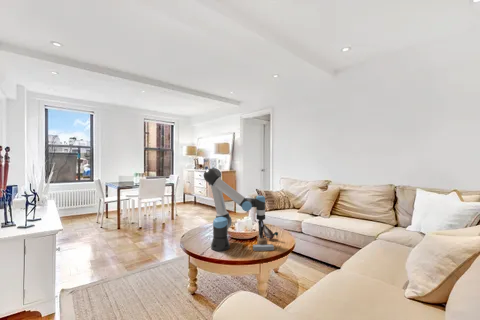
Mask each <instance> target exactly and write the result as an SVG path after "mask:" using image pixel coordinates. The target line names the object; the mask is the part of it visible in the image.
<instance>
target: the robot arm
mask: <svg viewBox="0 0 480 320" xmlns="http://www.w3.org/2000/svg"><path fill="white" fill-rule="evenodd" d="M203 179H204V181H205V182H206V183H208V186H210V189H211V193H212V197H213V202H214V207H215V210H216V214H215V218H214V219H213V222H212V228H213V229H212V233H213V234H212V236H213V237H212V242H211V243H210V249H211V250H213V251H216V252H222V251H227V250H230V248H231V245H230V241H229V238H228V234H229V232H228V229H229V228H231V226H232V223H233V220H232V216H230V213H229V211H227V208H226V202H225V198H224V195H226V196H227V197H228V198H230V199H231V201H233V202H234V203H236V204H237V205H238V206H240V207H241V209H242V210H243V211H244V212H249V211H250V210H251V209H252V208H256V210H255V211H256V212H255V213H256V215H255V217H256V220H258V221H257V223H258V238H263V235H264V232H263V226H264V225H263V224H264V220H266V212H267V211H266V196H264V195H257V196H256V197H255V198H252V197H251V198H249V197H245V196H243V195H242V193H239V191H238V190H236V189H234V188H233V187H232V186H230V185H229V184H228V183H227V182H225V181H224V180H223V179H222V173H221V171H220V170H219V169H218V168H215V167H212V168H208V169H206V170H205V171H204V172H203Z"/></svg>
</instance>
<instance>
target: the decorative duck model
mask: <svg viewBox="0 0 480 320" xmlns="http://www.w3.org/2000/svg"><path fill="white" fill-rule="evenodd" d="M263 225H264V226H263V238H266V239H270V240H272V239H273V238H275V236H276V237H278V235H279V232H278V231H275V232H274V233H273V231H272V230H271V229H270V228H269V227H268V226H267V225H266V224H264V223H263Z"/></svg>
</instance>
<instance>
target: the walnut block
mask: <svg viewBox="0 0 480 320" xmlns="http://www.w3.org/2000/svg"><path fill="white" fill-rule="evenodd" d="M256 240H257V243H256V245H261V244H268V238H267V237H264V238H259V237H257V239H256Z"/></svg>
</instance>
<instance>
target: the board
mask: <svg viewBox="0 0 480 320" xmlns="http://www.w3.org/2000/svg"><path fill="white" fill-rule="evenodd" d="M252 249H253V252H256V251H257V252H258V251H259V252H260V251H275V246H274V244H271V243H270V244H268V243H267V244H261V245H257V244H252Z"/></svg>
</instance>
